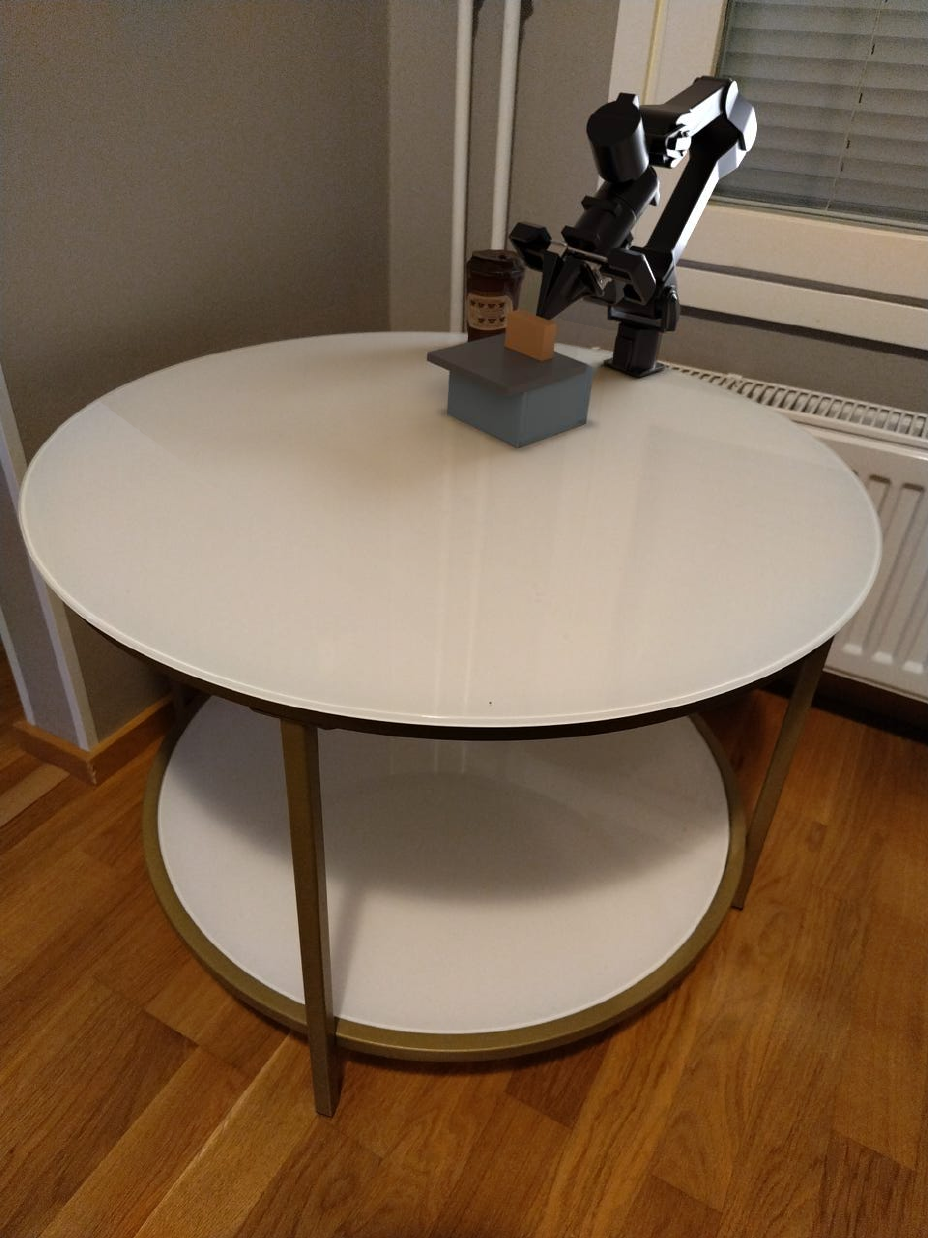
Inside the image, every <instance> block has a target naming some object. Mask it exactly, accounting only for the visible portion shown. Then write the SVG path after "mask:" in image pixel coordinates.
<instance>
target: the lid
mask: <svg viewBox="0 0 928 1238" xmlns="http://www.w3.org/2000/svg"><path fill="white" fill-rule="evenodd" d="M557 327H558V323H557V322H554V321H552V320H550V321H549V320H546V319H543V318H541V317H538V316H536V314H532V313H530V312H527V311H524V310H521V309H518V310H516V311H511V312H508V313H507V323H506V333H503V334H499V335H495V336H491V337H487V338H483V339H479V340H475V341H471V342H467V341H466V342H464V343H460V344H456V345H452V346H447V347H444V348H439V349H436V350H432V351H428V352H426V361H427V362H428V363H431V364H433V365H435V366H437V367H440V368H442V369H444V370H446V371H448V372H449V371H451V372H453V373H455V374H457V375H459V376H462V377H464V378H466V379H468V380H471V381H473V382H475V383H477V384H480V385H482V386H484V387H486V388H488V389H491V390H493V391H495V392H497V393H500V394H502V395H504V396H506V397H508V396H512V395H515V394H518V393H521V392H524V391H528V390H531V389H534V388H537V387H540V386H544V385H547V384H550V383H553V382H556V381H560V380H563V379H566V378H569V377H573V376H576V375H579V374H582V373H585V372H586V370H587V365H588V363H586V362H583V361H581V360H578V359H576V358H573V357H571V356H568V355H566V354H562V353H560V352H557V351H555V344H556V335H557Z"/></svg>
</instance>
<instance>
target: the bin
mask: <svg viewBox="0 0 928 1238" xmlns="http://www.w3.org/2000/svg"><path fill="white" fill-rule="evenodd" d="M594 374H595V367H594V366H592V365H590V364H587V370H586V372H585V373H582V374H579V375H576V376H573V377H569V378H566V379H563V380H560V381H556V382H553V383H550V384H547V385H544V386H540V387H537V388H534V389H531V390H528V391H524V392H521V393H518V394H515V395H512V396H508V397H506V396H504V395H502V394H500V393H497V392H495V391H493V390H491V389H488V388H486V387H484V386H482V385H480V384H477V383H475V382H473V381H471V380H468V379H466V378H464V377H462V376H459V375H457V374H455V373H453V372H451V371H448V385H447V387H448V388H447V404H446V405H447V407H446V414H447V415H450V416H451V417H454V418H455V419H458V420H460V421H462V422H463V423H466V424H467V425H469V426H472V427H474V428H476V429H478V430H480V431H482V432H484V433H486V434H489V435H490V436H492V437H494V438H497V440H500V441H502V442H505V443H506V444H508V445H511V446H512V447H515V448H516V449H519V448H522V447H525V446H527V445H531V444H533V443H536V442H538V441H541V440H545V439H547V438H550V437H552V436H555V435H558V434H560V433H564V432H566V431H569V430H571V429H574V428H577V427H580V426H583V425H586V424H587V419H588V412H589V406H590V399H591V393H592V387H593V380H594Z"/></svg>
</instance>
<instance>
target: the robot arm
mask: <svg viewBox="0 0 928 1238" xmlns="http://www.w3.org/2000/svg"><path fill="white" fill-rule="evenodd" d="M738 89H739V88H738V85H737V81H735V80H732V79H731V77H723V76H714V75H705V74H703V75H701V76H697V77H695V78H694V80H693V82H692V84H691V85H689V86H687V87H686V88H685V89H683V90H682V91H680V92H679V93H677V94H676V95H674V96H673V97H671V98H670V99H668V100H666V102H664V103H661V104H640V102H639V97H638V94H637V93H630V92H623V91H621V92H619V93H618V95H617V97H616V99H615V100H612V101H609V102H607V103H605V104H603V105H601V106H600V107H598V108H597V109H595V111H594V112H593V113H591V114H590V115H589V117H588V119H587V121H586V125H585V133H586V136H587V140H588V143H589V146H590V150H591V153H592V157H593V160H594V164H595V168H596V171H597V174H598V176H599V177H600V178H601V179H602V180H604V181H603V182H602V184H601V185H600V187H599V188H598V189H597V191H596V192H595V194H594V195H593V196H590V195H587V194H586V195H585V196H584V197H583V199H582V200H581V201H580V205H581V207H582V208H583V211H582V213H581V215H580V216H579V217H578V219H577V221H576V222H575V223H574V225H573V226H570V225H564V226H563V228H562V229H561V231H560V234H561V236H562V238H563V240H560V239H556V238H553V237H552V234H551V233H550V231H549V230H548V228H547V227H546V226H544V225H541V224H536V223H534V222H531V221H527V220H523V221H517V222H516V224H515V226H514V227H513V228H512V230H511V232H510V233H509V235H508V236H507V239H508V240H509V242H510V243H511V245H512V247H513V248H514V249H515V252H517V253H518V254H519V256H520V257H521V260H522V262H523V263H524V264H525V265H526V266H527V268H528V269H530V270H533V271H535V272H539V273H540V274H541V273H542V274H541V282H540V289H539V294H538V298H537V299H538V300H537V305H536V311H535V316H538V317H541V318H543V319H546V320H549V321H552V320H553V319H554V318H556V317H557V316H558V315H559V314H561V313H562V312H563V311H565V310H567V308H569V307H570V306H572V305H573V304H575V303H576V302H578V301H579V300H581V299H583V298H585V297H587V298H589V299H590V300H592V301H599V302H602V303H606V304H607V321H614V322H619V323H618V327H617V332H616V335H615V339H614V344H613V351H612V356H611V357H610V358H606V359H604V360H603V363H602V364H603V365H604V366H607V367H608V368H609V367H610V368H612V369H615V370H616V371H619V372H622V373H625V374H627V375H631V376H633V377H636V378H641V377H644V376H647V375H651V374H653V373H657V372H659V371H662V370H665V369H666V364H664V363H662V362H659V361H658V358H659V353H660V347H661V342H662V338H663V334H666V333H667V332H675V331H677V328H678V327H677V325H678V322H679V320H680V315H681V310H682V308H681V303H680V299H679V294H678V293H679V292H678V288H679V287H678V280H677V272H676V266H677V264H678V262H679V260H680V258H681V256H682V254H683V252H684V250H685V247H686V246H687V243H688V242H689V239H690V237H691V236H692V234H693V232H694V229H695V228H696V226H697V223H698V222H699V220H700V217H701V215H702V213H703V212H704V209H705V208H706V206H707V204H708V201H709V199H710V197H711V195H712V193H713V191H714V189H715V187H716V185H717V183H718V181H719V180H721V179H722V178H723V177H725V176H726V175H729V174H730V173H732V172H734V171H735V170H737V169H738V167H739V165H740V164H741V163H742V161H743V159H744V157H745V156H746V153H747V152H750V150H751V149H752V147H753V145H754V142H755V139H756V135H757V128H758V127H757V125H758V124H757V119H756V113H755V108H754V106H753V105H752V104H751V103H750V101H748V100H747V99H746V98H745V97H744V96H743V95H742V94H741V93H740V92H739V90H738ZM687 151H688V160H687V162H686V165H685V167H684V168H683V170H682V173H681V174H680V177H679V179H678V180H677V182H676V185H675V186H674V188H673V190H672V192H671V195H670V197H669V198H668V201H667V203H666V204H665V206H664V209H663V210H662V212H661V213H660V216H659V218H658V220H657V222H656V224H655V226H654V228H653V230H652V232H651V234H650V236H649V238H648V240H647V242H646V243H645V245H644V246H639V245H634V244H633V241H634V239H635V237H634V234H633V232H632V230H633V229H634V227H635V226H636V224H637V222H638V221H639V219H640V218H641V217H642V215H643V213H644V212H645V211H646V209H648V206H649V205H650V206H652V207H657V206H658V205H659V203H660V195H661V194H660V191H659V190H660V180H659V177H658V174H657V171H656V170H655V168H660V169H666V170H672V169H674V168H676V166H677V165H678V164H679V163H680V161H681V160H682V159H684V157H685V156H686V154H687Z"/></svg>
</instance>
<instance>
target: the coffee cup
mask: <svg viewBox="0 0 928 1238" xmlns="http://www.w3.org/2000/svg"><path fill="white" fill-rule="evenodd" d="M527 268H528V267H527V266H526V265H525V264H524V262H523V261H522V259H521V257H520V256H519V254H518V253H517V251H516V250H509V249H502V248H501V249H491V248H488V249H480V250H477V249H476V250H473V251H471V256H470V257H469V259H468V260H467V261H466V263H465V303H466V331H467V341H466V343H467V342H471V341H475V340H479V339H483V338H487V337H491V336H495V335H499V334H503V333H506V323H507V313H508V312H511V311H516V310H519V309H520V308H519V307H520V297H521V292H522V286H523V285H522V284H523V281H524V280H525V276H526V274H527Z"/></svg>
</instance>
